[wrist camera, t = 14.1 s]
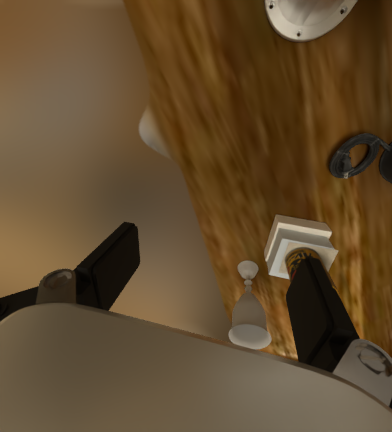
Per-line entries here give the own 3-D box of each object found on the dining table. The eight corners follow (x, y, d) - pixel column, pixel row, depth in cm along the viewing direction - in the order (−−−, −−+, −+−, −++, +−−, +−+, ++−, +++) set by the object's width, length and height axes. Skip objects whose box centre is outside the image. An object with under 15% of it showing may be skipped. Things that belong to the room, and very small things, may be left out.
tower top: (279, 227, 41) (282, 238, 37) (326, 236, 40) (334, 248, 36) (266, 262, 45) (268, 274, 42) (309, 271, 44) (315, 284, 40)
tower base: (275, 213, 44) (278, 222, 40) (324, 222, 42) (332, 232, 39) (263, 250, 49) (265, 261, 45) (307, 259, 47) (312, 271, 44)
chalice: (237, 280, 54) (234, 349, 38) (229, 260, 51) (223, 325, 36) (265, 276, 51) (275, 349, 36) (258, 255, 49) (265, 322, 33)
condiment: (288, 241, 37) (306, 291, 27) (338, 249, 36) (377, 306, 26) (278, 271, 41) (290, 326, 30) (323, 280, 40) (352, 340, 29)
